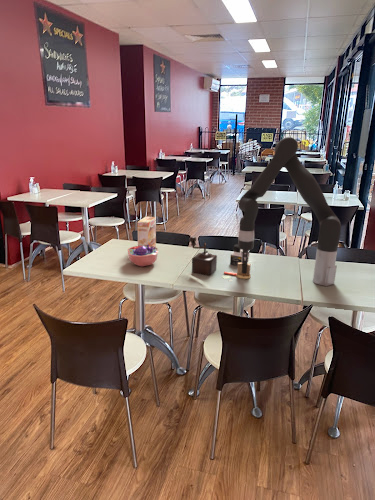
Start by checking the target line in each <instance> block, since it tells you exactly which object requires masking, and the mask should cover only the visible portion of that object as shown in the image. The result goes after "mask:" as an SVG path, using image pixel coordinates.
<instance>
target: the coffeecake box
mask: <svg viewBox="0 0 375 500" xmlns="http://www.w3.org/2000/svg"><path fill="white" fill-rule="evenodd" d="M156 221H157V218H156V216H144V217H143V218H141V219H139V220H138V221H137V246H140V245H150V246H154V247H156V248H157V236H156V234H157V222H156Z"/></svg>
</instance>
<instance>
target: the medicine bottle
mask: <svg viewBox="0 0 375 500" xmlns="http://www.w3.org/2000/svg"><path fill="white" fill-rule="evenodd" d="M241 251H243V250H242V249H239V248H238V243H237V244H234V245H233V252H232V253H231V254H230V260H229V265H232V266H237V267H238V263H239V262H242V261H241V258H242V256H241Z"/></svg>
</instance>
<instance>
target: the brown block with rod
mask: <svg viewBox="0 0 375 500" xmlns="http://www.w3.org/2000/svg"><path fill="white" fill-rule="evenodd" d="M243 264H246V263H243ZM236 271H237V272H231V271H230V272H229V271H228V272H227V271H224V272H223V274H224V275H230V276H235V277H236V278H237V279H239V280H250V279H251V275H252V274H251V263H249V262H247V271H246V274H244V273H242V262H239V263H238V266H237V270H236Z"/></svg>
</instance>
